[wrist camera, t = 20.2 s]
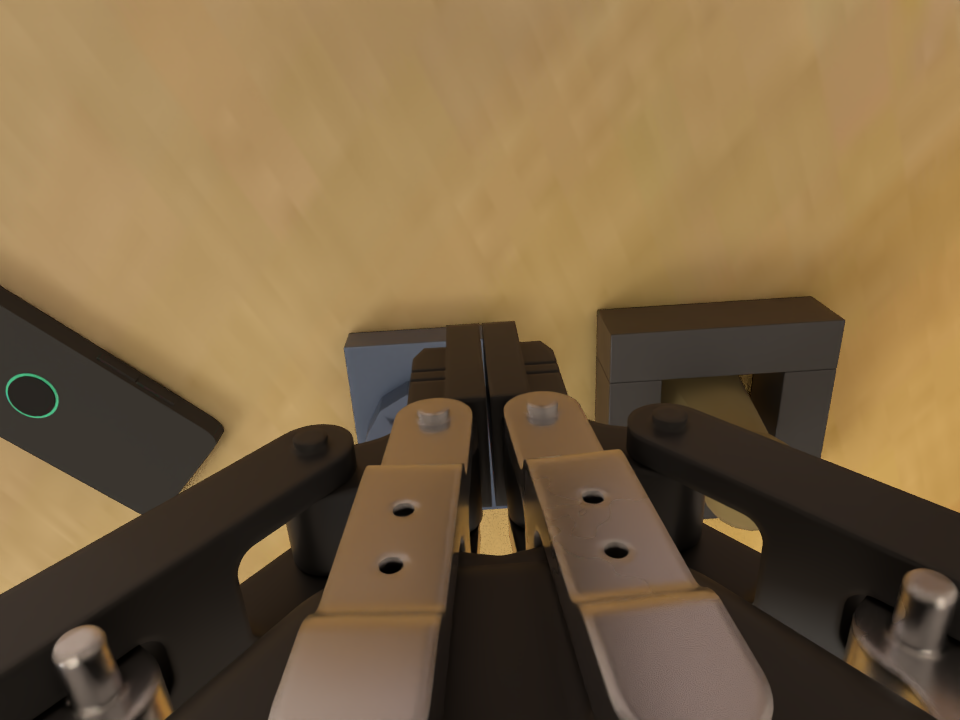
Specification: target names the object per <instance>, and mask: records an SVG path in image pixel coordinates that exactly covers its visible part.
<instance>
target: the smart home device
mask: <svg viewBox="0 0 960 720" xmlns="http://www.w3.org/2000/svg"><path fill="white" fill-rule="evenodd" d="M223 432H224V429H223V427H222V425H221V424H220V423H219V422H218V421H217V420H215V419H214V418H213V417H211V416H210V415H208V414H206V413H205V412H203V411H201V410H200V409H198V408H197V407H195V406H193V405H192V404H190V403H188V402H187V401H185V400H184V399H182V398H180V397H179V396H177V395H176V394H174V393H172V392H171V391H169V390H167V389H166V388H164V387H163V386H161V385H159V384H158V383H156V382H154V381H153V380H151V379H150V378H148V377H146V376H145V375H143V374H141V373H140V372H138V371H137V370H135V369H133V368H132V367H130V366H129V365H127V364H125V363H124V362H122V361H120V360H119V359H117V358H116V357H114V356H112V355H111V354H109V353H107V352H106V351H104V350H103V349H101V348H99V347H98V346H96V345H94V344H93V343H91V342H90V341H88V340H86V339H85V338H83V337H82V336H80V335H78V334H77V333H75V332H73V331H72V330H70V329H69V328H67V327H65V326H64V325H62V324H60V323H59V322H57V321H56V320H54V319H52V318H51V317H49V316H47V315H46V314H44V313H43V312H41V311H39V310H38V309H36V308H35V307H33V306H31V305H30V304H28V303H26V302H25V301H23V300H22V299H20V298H18V297H17V296H15V295H13V294H12V293H10V292H9V291H7V290H5V289H4V288H2V287H0V437H1V438H3V439H5V440H7V441H9V442H10V443H12V444H14V445H16V446H18V447H20V448H21V449H23V450H25V451H27V452H29V453H30V454H32V455H34V456H36V457H38V458H39V459H41V460H43V461H45V462H47V463H49V464H50V465H52V466H54V467H56V468H58V469H59V470H61V471H63V472H65V473H67V474H69V475H70V476H72V477H74V478H76V479H78V480H79V481H81V482H83V483H85V484H87V485H88V486H90V487H92V488H94V489H96V490H98V491H99V492H101V493H103V494H105V495H107V496H108V497H110V498H112V499H114V500H116V501H117V502H119V503H121V504H123V505H125V506H127V507H128V508H130V509H132V510H134V511H136V512H137V513H139V514H141V515H142V514H144V513H146V512H148V511H150V510H151V509H153V508H155V507H157V506H158V505H160V504H162V503H164V502H165V501H167V500H169V499H171V498H173V497H174V496H176V495H178V494H179V492H180V491H181V490H182V488H183V487H184V486H185V485H186V483H187V482H188V481H189V479H190V478H191V477H192V476H193V474H194V473H195V472H196V470H197V469H198V468H199V467H200V465H201V464H202V463H203V461H204V460H205V459H206V458H207V456H208V455H209V454H210V452H211V451H212V450H213V449H214V447H215V445H216V444H217V442H218V441H219V439H220V437H221V435H222V434H223Z"/></svg>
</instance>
